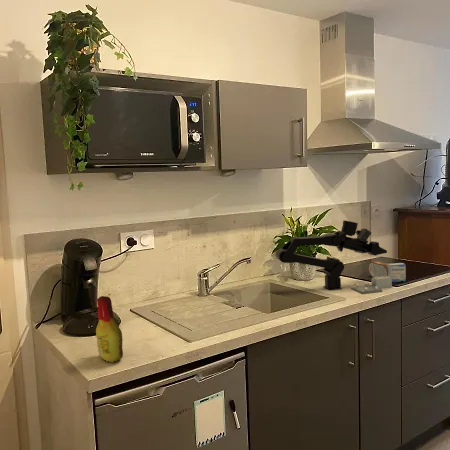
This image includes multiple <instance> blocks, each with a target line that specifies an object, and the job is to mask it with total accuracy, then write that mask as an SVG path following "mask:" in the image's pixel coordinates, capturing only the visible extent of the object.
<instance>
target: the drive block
mask: <svg viewBox="0 0 450 450" xmlns="http://www.w3.org/2000/svg"><path fill="white" fill-rule="evenodd" d="M371 285H372V286H377V288H380V289H382V290H383V289H390V288H391V289H392V287H393V284H392V278H390V277H388V276H380V277H371Z"/></svg>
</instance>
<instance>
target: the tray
mask: <svg viewBox="0 0 450 450" xmlns="http://www.w3.org/2000/svg"><path fill="white" fill-rule="evenodd" d="M350 289H351V290H352V291H355V292H357V293H360V294H361V295H365V294H373V293H381V292H382V293H383V289H380V288H377V286H372V284H369V283H368V282H364V285H359V283H355V285H354V286H350Z"/></svg>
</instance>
